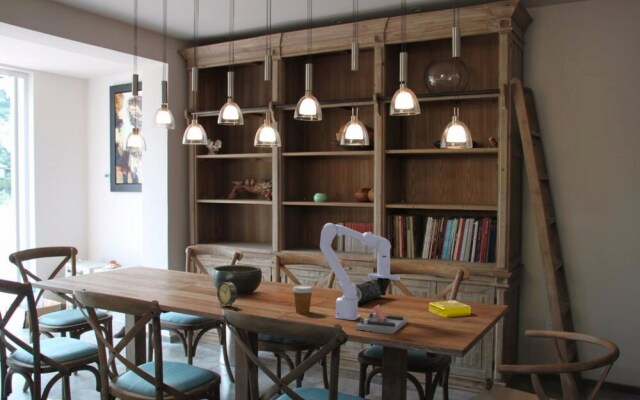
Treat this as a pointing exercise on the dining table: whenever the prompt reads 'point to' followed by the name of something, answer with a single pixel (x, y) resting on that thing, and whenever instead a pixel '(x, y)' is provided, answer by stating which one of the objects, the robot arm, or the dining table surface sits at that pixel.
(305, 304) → the disposable coffee cup
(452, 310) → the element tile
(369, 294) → the muzzle brake
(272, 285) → the dining table surface
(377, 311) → the lever
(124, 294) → the dining table surface
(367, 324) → the box
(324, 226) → the robot arm
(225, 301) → the alarm clock
